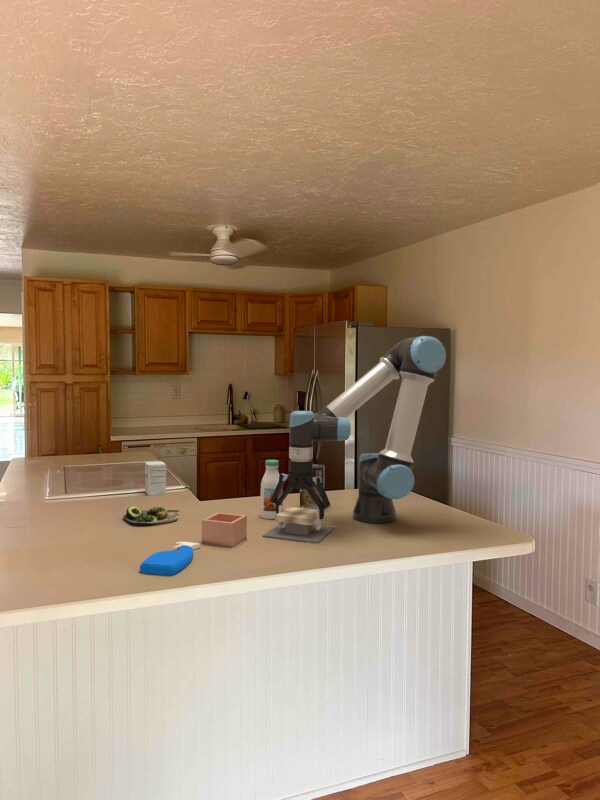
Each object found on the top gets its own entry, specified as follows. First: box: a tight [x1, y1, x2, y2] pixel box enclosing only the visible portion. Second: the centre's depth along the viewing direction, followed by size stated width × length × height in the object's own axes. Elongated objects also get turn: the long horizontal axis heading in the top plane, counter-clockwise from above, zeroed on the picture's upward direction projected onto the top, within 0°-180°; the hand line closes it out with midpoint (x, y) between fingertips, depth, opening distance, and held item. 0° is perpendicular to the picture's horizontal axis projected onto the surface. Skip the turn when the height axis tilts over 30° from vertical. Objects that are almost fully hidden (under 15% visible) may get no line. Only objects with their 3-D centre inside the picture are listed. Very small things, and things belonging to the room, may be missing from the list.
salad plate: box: [122, 505, 180, 527], centre depth 206 cm, size 19×18×5 cm
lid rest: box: [261, 522, 336, 544], centre depth 192 cm, size 18×18×4 cm
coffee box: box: [299, 464, 326, 510], centre depth 225 cm, size 9×6×16 cm
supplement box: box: [144, 460, 167, 496], centre depth 246 cm, size 7×7×13 cm
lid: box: [274, 506, 317, 525], centre depth 192 cm, size 12×12×2 cm
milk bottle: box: [259, 459, 284, 520], centre depth 211 cm, size 8×8×20 cm
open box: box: [201, 512, 248, 548], centre depth 182 cm, size 10×10×7 cm
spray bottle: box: [139, 541, 201, 577], centre depth 164 cm, size 3×11×24 cm
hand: (299, 527), depth 192 cm, fingers closed on lid, 12 cm apart
